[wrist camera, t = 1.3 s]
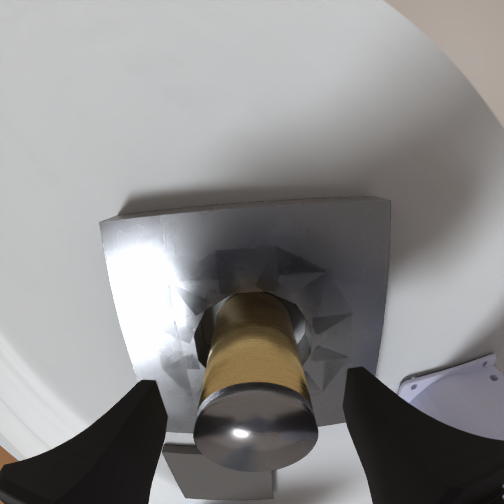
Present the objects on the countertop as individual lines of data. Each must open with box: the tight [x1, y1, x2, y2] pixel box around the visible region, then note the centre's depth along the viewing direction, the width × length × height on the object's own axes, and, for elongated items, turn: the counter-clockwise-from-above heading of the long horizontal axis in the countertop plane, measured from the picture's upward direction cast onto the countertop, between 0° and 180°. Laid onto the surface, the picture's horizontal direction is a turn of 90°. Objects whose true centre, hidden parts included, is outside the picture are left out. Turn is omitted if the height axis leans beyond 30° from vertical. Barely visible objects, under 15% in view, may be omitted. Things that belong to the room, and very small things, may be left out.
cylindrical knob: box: [193, 292, 318, 472], centre depth 12 cm, size 4×4×8 cm
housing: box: [99, 196, 391, 433], centre depth 15 cm, size 13×13×2 cm
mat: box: [162, 445, 273, 500], centre depth 19 cm, size 8×8×1 cm
